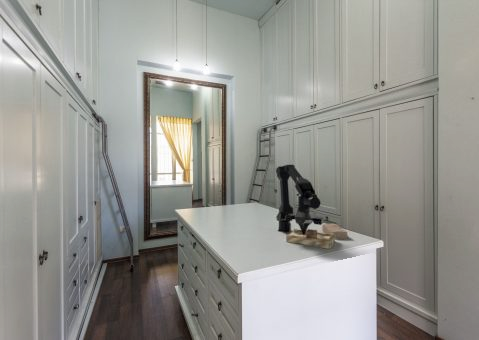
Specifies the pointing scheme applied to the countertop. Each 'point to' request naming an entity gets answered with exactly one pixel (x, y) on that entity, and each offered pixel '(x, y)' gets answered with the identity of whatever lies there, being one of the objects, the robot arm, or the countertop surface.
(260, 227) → the countertop surface
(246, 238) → the countertop surface
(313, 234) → the walnut block
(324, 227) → the brick
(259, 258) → the countertop surface
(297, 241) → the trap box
